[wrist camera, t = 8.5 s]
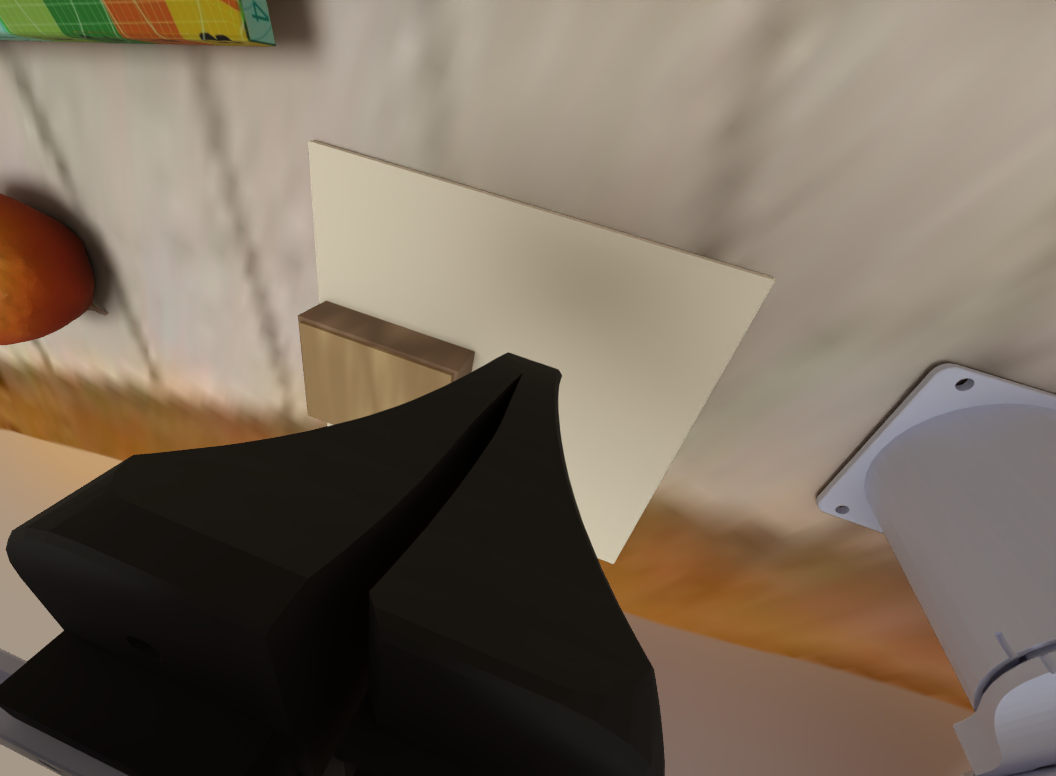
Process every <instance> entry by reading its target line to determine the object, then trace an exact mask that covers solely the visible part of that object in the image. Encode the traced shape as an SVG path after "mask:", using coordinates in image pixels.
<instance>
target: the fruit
mask: <svg viewBox="0 0 1056 776" xmlns="http://www.w3.org/2000/svg"><path fill="white" fill-rule="evenodd" d="M94 287H95V281H94V275H93V271H92V268H91V266H90V264H89V261H88V257H87V254H86V251H85V248H84V244H83V241H82V240H81V239H80V238H79V237H78V236H77V235H76V234H75V233H73V232H72V231H71V230H70V229H69V228H67V227H66V226H65V225H63V224H62V223H61V222H59V221H57V220H55V219H53V218H51V217H49V216H47V215H45V214H43V213H41V212H39V211H37V210H35V209H33V208H31V207H29V206H27V205H25V204H23V203H21V202H19V201H17V200H15V199H13V198H11V197H8V196H5V195H2V194H0V345H9V344H15V343H20V342H25V341H30V340H34V339H38V338H41V337H44V336H46V335H48V334H51V333H53V332H55V331H57V330H59V329H61V328H63V327H64V326H66V325H68V324H69V323H70V322H72V321H73V320H75V319H77V318H78V317H80V316H81V315H82V314H83V313H84V312H86V311H87V310H94V311H96V312H98V313H100V314H103V315H106V314H108V312H105V311H103V310H101V309H100V308H98V307H96V306H95V305H94V304H93V296H94Z"/></svg>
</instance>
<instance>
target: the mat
mask: <svg viewBox="0 0 1056 776" xmlns="http://www.w3.org/2000/svg"><path fill="white" fill-rule="evenodd" d="M308 147H309V162H310V177H311V191H312V206H313V220H314V235H315V250H316V264H317V279H318V293H319V304H321V303H323V302H325V301H329V302H332V303H335V304H338V305H341V306H344V307H346V308H349V309H352V310H355V311H358V312H361V313H364V314H367V315H370V316H373V317H376V318H379V319H381V320H384V321H387V322H390V323H393V324H396V325H399V326H402V327H405V328H408V329H411V330H414V331H417V332H419V333H422V334H425V335H428V336H431V337H434V338H437V339H440V340H443V341H446V342H449V343H452V344H454V345H457V346H460V347H463V348H466V349H469V350H472V351H475V355H474V361H473V367H472V372H473V371H474V370H476V369H478V368H480V367H482V366H483V365H485V364H487V363H489V362H491V361H492V360H494V359H496V358H498V357H500V356H501V355H503V354H505V353H508V352H509V353H512V354H515V355H518V356H521V357H524V358H527V359H529V360H532V361H535V362H538V363H541V364H544V365H547V366H550V367H553V368H556V369H559V371H560V372H561V374H562V378H561V381H560V384H559V396H558V408H559V421H560V432H561V439H562V446H563V451H564V457H565V462H566V466H567V471H568V475H569V479H570V483H571V486H572V490H573V493H574V497H575V500H576V503H577V506H578V509H579V512H580V515H581V518H582V521H583V524H584V526H585V529H586V531H587V534H588V536H589V539H590V541H591V544H592V546H593V549H594V551H595V553H596V556H597V558H599V559H601V560H604V561H607V562H609V563H612V564H614V562H615V561H616V559H617V557H618V555H619V554H620V552H621V550H622V548H623V547H624V545H625V543H626V541H627V540H628V538H629V536H630V534H631V533H632V531H633V529H634V527H635V526H636V524H637V522H638V520H639V519H640V517H641V515H642V513H643V512H644V510H645V508H646V506H647V505H648V503H649V501H650V499H651V498H652V496H653V494H654V492H655V491H656V489H657V487H658V485H659V484H660V482H661V480H662V478H663V477H664V475H665V473H666V471H667V470H668V468H669V466H670V464H671V462H672V461H673V459H674V457H675V455H676V454H677V452H678V450H679V448H680V447H681V445H682V443H683V441H684V440H685V438H686V436H687V434H688V433H689V431H690V429H691V427H692V426H693V424H694V422H695V420H696V419H697V417H698V415H699V413H700V412H701V410H702V408H703V406H704V405H705V403H706V401H707V399H708V398H709V396H710V394H711V392H712V391H713V389H714V387H715V385H716V384H717V382H718V380H719V378H720V377H721V375H722V373H723V371H724V370H725V368H726V366H727V364H728V363H729V361H730V359H731V357H732V356H733V354H734V352H735V350H736V349H737V347H738V345H739V343H740V342H741V340H742V338H743V336H744V335H745V333H746V331H747V329H748V328H749V326H750V324H751V322H752V321H753V319H754V317H755V315H756V314H757V312H758V310H759V308H760V306H761V305H762V303H763V301H764V299H765V298H766V296H767V294H768V292H769V291H770V289H771V287H772V285H773V284H774V282H775V279H774V278H773V277H771V276H768V275H764V274H761V273H758V272H754V271H751V270H748V269H744V268H741V267H738V266H734V265H731V264H727V263H724V262H721V261H717V260H714V259H711V258H707V257H704V256H701V255H697V254H694V253H691V252H687V251H684V250H681V249H677V248H674V247H670V246H667V245H664V244H660V243H657V242H654V241H650V240H647V239H644V238H640V237H637V236H634V235H630V234H627V233H624V232H620V231H617V230H613V229H610V228H607V227H603V226H600V225H597V224H593V223H590V222H587V221H583V220H580V219H577V218H573V217H570V216H567V215H563V214H560V213H556V212H553V211H550V210H546V209H543V208H540V207H536V206H533V205H530V204H526V203H523V202H520V201H516V200H513V199H510V198H506V197H503V196H499V195H496V194H493V193H489V192H486V191H483V190H479V189H476V188H473V187H469V186H466V185H463V184H459V183H456V182H453V181H449V180H446V179H442V178H439V177H436V176H432V175H429V174H426V173H422V172H419V171H416V170H412V169H409V168H406V167H402V166H399V165H396V164H392V163H389V162H385V161H382V160H379V159H375V158H372V157H369V156H365V155H362V154H359V153H355V152H352V151H349V150H345V149H342V148H338V147H335V146H332V145H328V144H325V143H322V142H318V141H315V140H313V141H308ZM327 425H328V426H331V425H333V424H330V423H327Z"/></svg>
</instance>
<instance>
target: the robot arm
mask: <svg viewBox="0 0 1056 776" xmlns="http://www.w3.org/2000/svg"><path fill="white" fill-rule="evenodd" d="M561 378H562V374H561V372H560V371H559V369H556V368H553V367H550V366H547V365H544V364H541V363H538V362H535V361H532V360H529V359H527V358H524V357H521V356H518V355H515V354H512V353H509V352H508V353H505V354H503V355H501V356H500V357H498V358H496V359H494V360H492V361H491V362H489V363H487V364H485V365H483V366H482V367H480V368H478V369H476V370H474V371H473V372H471V373H469V374H467V375H465V376H463V377H461V378H459V379H457V380H455V381H453V382H451V383H449V384H447V385H445V386H443V387H441V388H439V389H437V390H435V391H432V392H430V393H428V394H425V395H423V396H421V397H419V398H416V399H414V400H412V401H409V402H407V403H404V404H401V405H399V406H396V407H393V408H390V409H387V410H384V411H381V412H378V413H375V414H372V415H369V416H365V417H362V418H358V419H354V420H350V421H346V422H342V423H339V424H335V425H331V426H327V427H323V428H319V429H315V430H311V431H306V432H301V433H296V434H291V435H286V436H281V437H275V438H269V439H263V440H257V441H251V442H245V443H238V444H231V445H224V446H216V447H207V448H198V449H189V450H180V451H171V452H162V453H152V454H140V455H133V456H131V457H130V458H128V459H126V460H125V461H123V462H121V463H120V464H118V465H117V466H115V467H113V468H112V469H110V470H108V471H107V472H105V473H104V474H102V475H100V476H99V477H97V478H96V479H94V480H92V481H91V482H90V483H88V484H86V485H84V486H83V487H81V488H80V489H78V490H76V491H75V492H74V493H72V494H70V495H68V496H67V497H65V498H64V499H62V500H60V501H59V502H57V503H56V504H54V505H52V506H51V507H49V508H48V509H46V510H44V511H43V512H41V513H40V514H38V515H36V516H35V517H33V518H32V519H30V520H28V521H27V522H25V523H24V524H22V525H20V526H19V527H17V528H16V529H14V530H12V532H11V535H10V537H9V539H8V542H7V546H6V551H7V554H8V557H9V561H10V563H11V564H12V566H13V567H14V569H15V570H16V571H17V573H18V574H19V576H20V577H21V579H22V580H23V581H24V582H25V583H26V585H27V586H28V587H29V588H30V589H31V591H32V592H33V593H34V594H35V595H36V597H37V598H38V599H39V600H40V602H41V603H42V604H43V605H44V606H45V608H46V609H47V610H48V611H49V612H50V614H51V615H52V616H53V617H54V619H55V620H56V621H57V622H58V623H59V624H60V626H61V627H62V628H63V629H64V631H63V632H62V633H61V634H60V635H58V636H57V637H56V638H55V639H54V640H52V641H51V642H50V643H49V644H48V645H46V646H45V647H44V648H43V649H42V650H41V651H40V652H38V653H37V654H36V655H35V656H34V657H32V658H31V659H30V660H29V661H25V660H23V659H21V658H19V657H17V656H15V655H12V654H10V653H8V652H6V651H4V650H2V649H0V744H1V745H4V746H5V747H7V748H9V749H11V750H13V751H15V752H17V753H19V754H21V755H23V756H25V757H27V758H29V759H30V760H32V761H34V762H37V763H38V764H40V765H42V766H44V767H46V768H48V769H50V770H52V771H54V772H56V773H57V774H60V775H61V776H665V759H664V746H663V733H662V723H661V714H660V705H659V699H658V692H657V685H656V679H655V673H654V669H653V667H652V665H651V663H650V662H649V660H648V658H647V656H646V654H645V652H644V651H643V649H642V647H641V645H640V644H639V642H638V640H637V638H636V637H635V634H634V633H633V631H632V629H631V627H630V625H629V623H628V621H627V619H626V618H625V615H624V614H623V612H622V610H621V608H620V606H619V604H618V602H617V600H616V598H615V596H614V594H613V591H612V589H611V587H610V585H609V583H608V581H607V579H606V577H605V575H604V572H603V570H602V568H601V566H600V563H599V561H598V558H597V556H596V553H595V551H594V549H593V546H592V544H591V541H590V539H589V536H588V534H587V531H586V529H585V526H584V524H583V521H582V518H581V515H580V512H579V509H578V506H577V503H576V500H575V497H574V493H573V490H572V486H571V483H570V479H569V475H568V471H567V466H566V462H565V457H564V451H563V446H562V439H561V432H560V421H559V408H558V396H559V384H560V381H561ZM965 378H968V380H967V382H965V383H964V384H962V385H958V386H957V385H956V383H957V382H958V381H959V380H961V379H965ZM816 503H817V506H818V508H819V509H820V510H821V511H823V512H825V513H828V514H831V515H833V516H836V517H839V518H842V519H845V520H848V521H850V522H853V523H856V524H859V525H862V526H865V527H867V528H870V529H873V530H876V531H879V532H882V533H884V534H885V536H886V538H887V540H888V542H889V544H890V546H891V548H892V550H893V552H894V554H895V556H896V558H897V560H898V562H899V564H900V565H901V567H902V569H903V571H904V573H905V575H906V577H907V579H908V581H909V583H910V585H911V587H912V589H913V591H914V593H915V595H916V597H917V599H918V601H919V603H920V605H921V607H922V609H923V610H924V612H925V614H926V616H927V618H928V620H929V622H930V624H931V626H932V628H933V630H934V632H935V634H936V636H937V638H938V640H939V642H940V644H941V646H942V648H943V650H944V652H945V654H946V655H947V657H948V659H949V661H950V663H951V665H952V667H953V669H954V671H955V673H956V675H957V677H958V679H959V681H960V683H961V685H962V687H963V689H964V691H965V693H966V695H967V697H968V699H969V701H970V702H971V704H972V706H973V708H974V710H975V713H974V714H973V715H971V716H970V717H968V718H966V719H965V720H962V721H959V722H957V723H955V724H954V725H953V728H954V730H955V732H956V734H957V737H958V738H959V741H960V743H961V745H962V747H963V749H964V752H965V754H966V756H967V758H968V760H969V762H970V765H971V767H972V769H973V770H971V771H968V772H965V773H963V774H961V775H960V776H1056V395H1055V394H1052V393H1049V392H1045V391H1042V390H1039V389H1036V388H1032V387H1029V386H1026V385H1023V384H1019V383H1016V382H1013V381H1009V380H1006V379H1003V378H1000V377H996V376H993V375H990V374H987V373H983V372H980V371H977V370H974V369H970V368H967V367H964V366H960V365H957V364H952V363H947V364H942V365H939V366H937V367H935V368H934V369H933V370H931V371H930V372H929V374H928V375H927V376H926V377H925V378H924V379H923V380H922V381H921V382H920V383H919V385H918V386H917V387H916V388H915V389H914V390H913V391H912V392H911V393H910V395H909V396H908V397H907V398H906V399H905V400H904V401H903V402H902V403H901V405H900V406H899V407H898V408H897V409H896V410H895V411H894V412H893V413H892V415H891V416H890V417H889V418H888V419H887V420H886V421H885V422H884V423H883V425H882V426H881V427H880V428H879V429H878V430H877V431H876V432H875V433H874V435H873V436H872V437H871V438H870V439H869V440H868V441H867V442H866V443H865V445H864V446H863V447H862V448H861V449H860V450H859V451H858V452H857V453H856V454H855V456H854V457H853V458H852V459H851V460H850V461H849V462H848V463H847V464H846V466H845V467H844V468H843V469H842V470H841V471H840V472H839V473H838V474H837V476H836V477H835V478H834V479H833V480H832V481H831V482H830V483H829V484H828V486H827V487H826V488H825V489H824V490H823V491H822V492H821V493H820V494H819V496H818V497H817V499H816ZM838 506H844V507H841V508H838Z"/></svg>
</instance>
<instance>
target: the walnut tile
mask: <svg viewBox="0 0 1056 776" xmlns="http://www.w3.org/2000/svg"><path fill="white" fill-rule="evenodd" d="M298 321H299V331H300V341H301V351H302V361H303V371H304V381H305V391H306V400H307V410H308V415H309V416H311V417H314V418H317V419H319V420H322V421H325V422H327V423H330V424H333V425H335V424H339V423H342V422H346V421H350V420H354V419H358V418H362V417H365V416H369V415H372V414H375V413H378V412H381V411H384V410H387V409H390V408H393V407H396V406H399V405H401V404H404V403H407V402H409V401H412V400H414V399H416V398H419V397H421V396H423V395H425V394H428V393H430V392H432V391H435V390H437V389H439V388H441V387H443V386H445V385H447V384H449V383H451V382H453V381H455V380H457V379H459V378H461V377H463V376H465V375H467V374H469V373H471V372H472V367H473V361H474V355H475V351H472V350H469V349H466V348H463V347H460V346H457V345H454V344H452V343H449V342H446V341H443V340H440V339H437V338H434V337H431V336H428V335H425V334H422V333H419V332H417V331H414V330H411V329H408V328H405V327H402V326H399V325H396V324H393V323H390V322H387V321H384V320H381V319H379V318H376V317H373V316H370V315H367V314H364V313H361V312H358V311H355V310H352V309H349V308H346V307H344V306H341V305H338V304H335V303H332V302H329V301H325V302H323V303H321V304H319V305H317V306H315V307H313V308H311V309H309V310H307V311H306V312H304V313H302V314H300V315H298Z"/></svg>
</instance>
